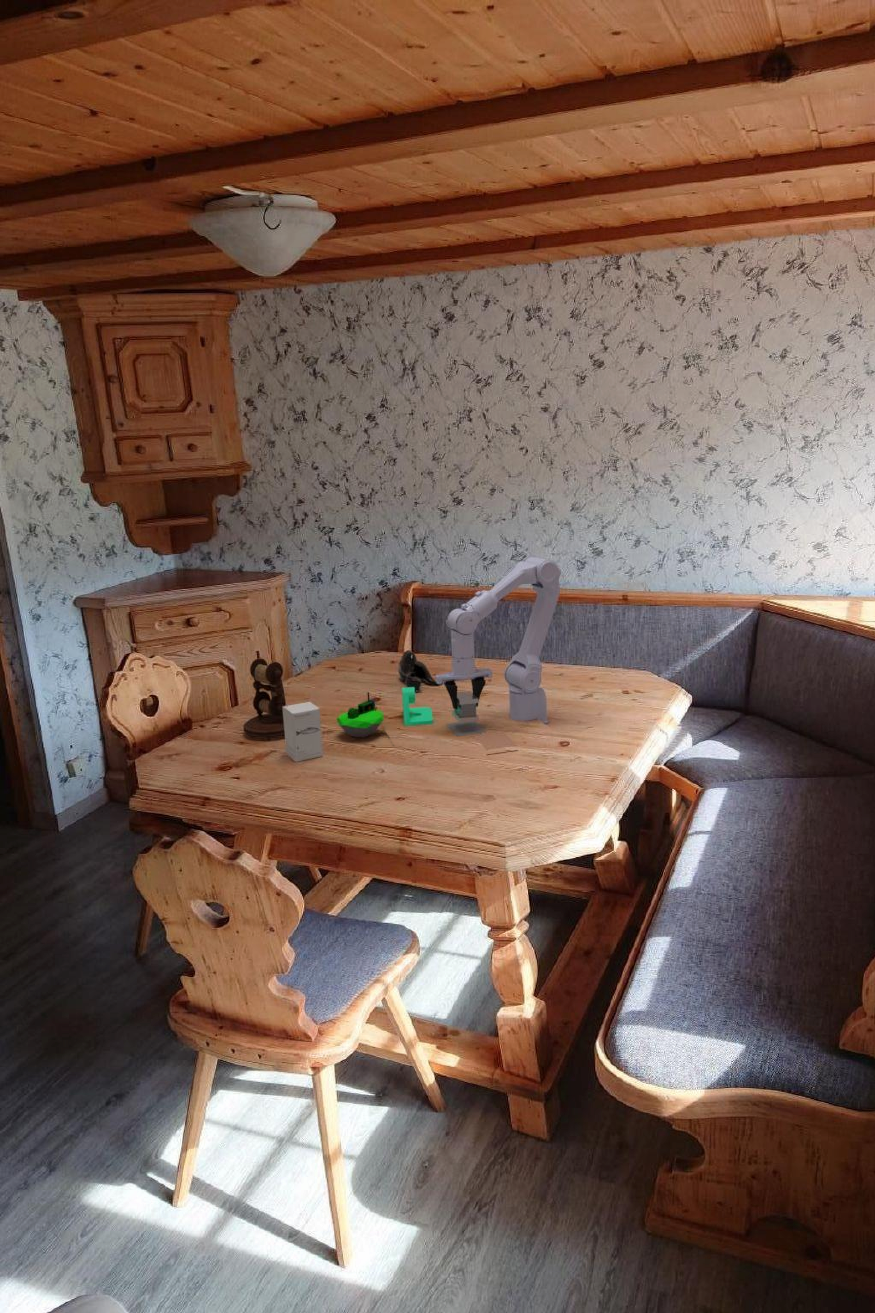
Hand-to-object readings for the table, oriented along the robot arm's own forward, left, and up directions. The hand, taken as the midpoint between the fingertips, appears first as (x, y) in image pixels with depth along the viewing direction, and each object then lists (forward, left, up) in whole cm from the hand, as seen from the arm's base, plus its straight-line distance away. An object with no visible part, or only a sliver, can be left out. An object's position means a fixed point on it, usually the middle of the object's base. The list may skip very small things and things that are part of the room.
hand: (465, 707), depth 238 cm
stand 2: (-4, +12, -7) cm, 15 cm away
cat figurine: (-1, -48, -8) cm, 49 cm away
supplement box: (+42, 0, -8) cm, 43 cm away
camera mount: (+10, -13, -8) cm, 18 cm away
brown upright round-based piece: (+48, -21, -8) cm, 53 cm away
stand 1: (0, 0, -7) cm, 7 cm away
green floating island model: (+26, -9, -8) cm, 29 cm away
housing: (0, 0, -3) cm, 3 cm away
